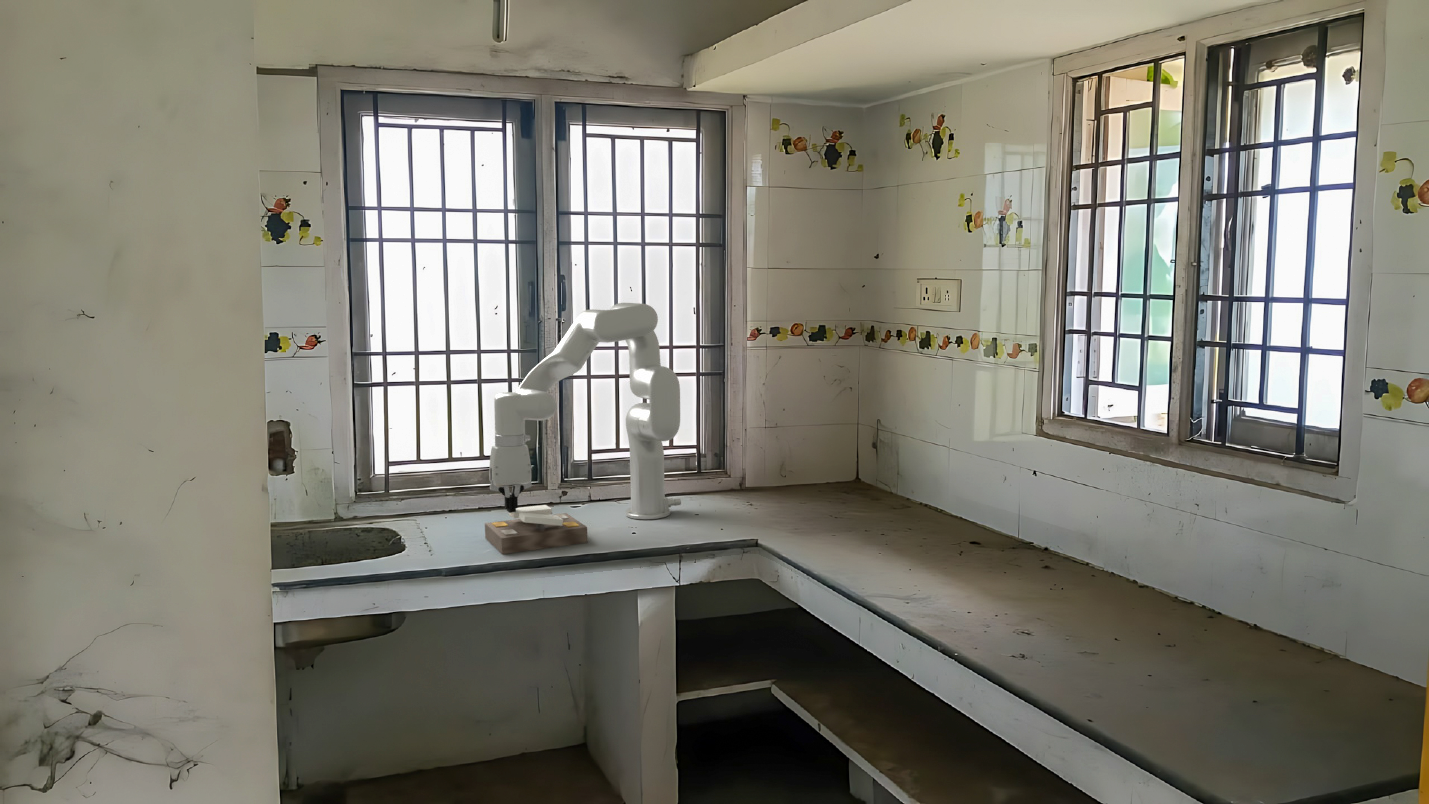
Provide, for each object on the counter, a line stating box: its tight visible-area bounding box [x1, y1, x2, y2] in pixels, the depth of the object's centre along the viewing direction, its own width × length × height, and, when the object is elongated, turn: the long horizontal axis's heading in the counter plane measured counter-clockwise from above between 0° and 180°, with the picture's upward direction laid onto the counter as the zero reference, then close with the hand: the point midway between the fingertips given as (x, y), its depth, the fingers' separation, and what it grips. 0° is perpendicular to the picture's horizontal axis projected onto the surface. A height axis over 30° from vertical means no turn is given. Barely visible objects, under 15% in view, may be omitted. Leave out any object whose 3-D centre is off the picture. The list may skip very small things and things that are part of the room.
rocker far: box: [508, 504, 553, 519], centre depth 270 cm, size 10×5×2 cm, turn 116°
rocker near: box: [518, 512, 563, 526], centre depth 262 cm, size 10×5×2 cm, turn 116°
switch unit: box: [484, 512, 589, 555], centre depth 266 cm, size 22×17×6 cm
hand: (511, 511), depth 267 cm, fingers closed
